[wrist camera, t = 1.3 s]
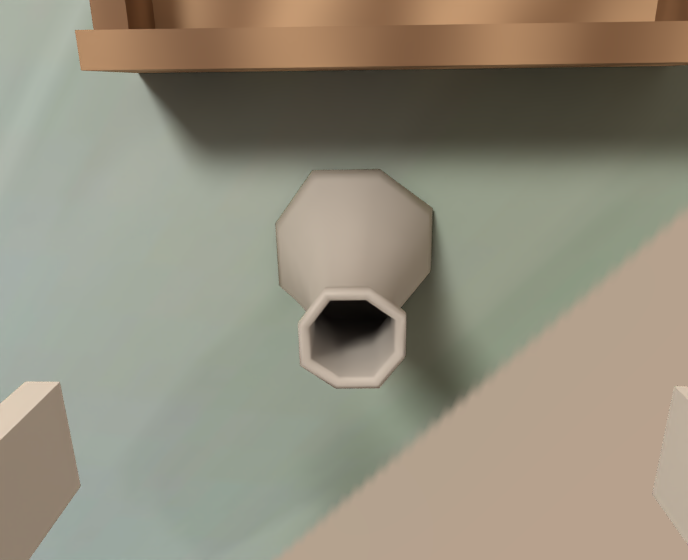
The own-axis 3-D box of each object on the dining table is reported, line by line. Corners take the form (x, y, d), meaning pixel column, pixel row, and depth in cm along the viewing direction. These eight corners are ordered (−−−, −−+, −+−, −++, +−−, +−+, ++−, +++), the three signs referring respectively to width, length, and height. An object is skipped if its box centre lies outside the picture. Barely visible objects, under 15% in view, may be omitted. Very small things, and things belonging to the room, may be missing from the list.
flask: (403, 338, 27) (429, 476, 17) (256, 294, 26) (199, 413, 17) (458, 193, 25) (522, 262, 15) (298, 142, 24) (260, 180, 15)
